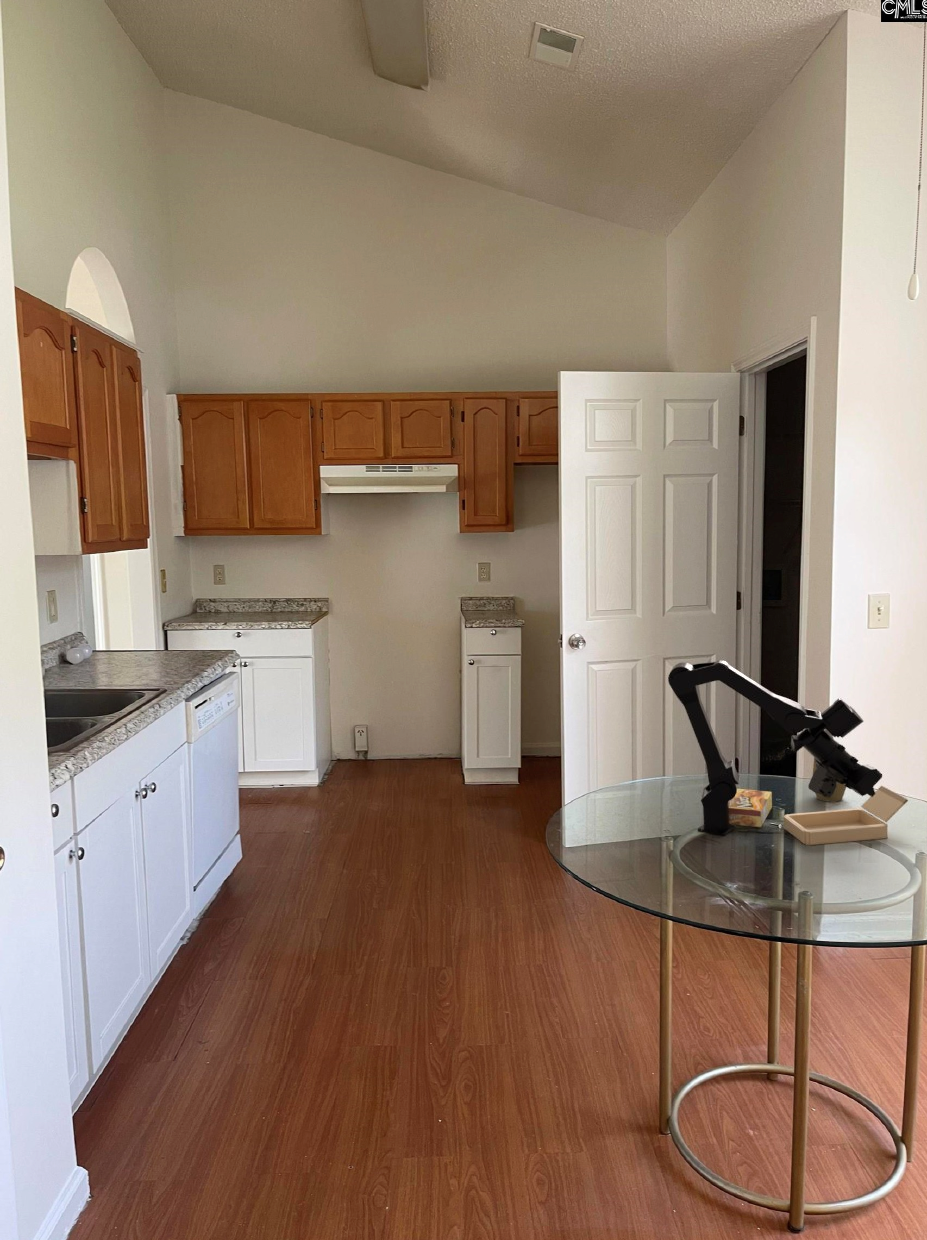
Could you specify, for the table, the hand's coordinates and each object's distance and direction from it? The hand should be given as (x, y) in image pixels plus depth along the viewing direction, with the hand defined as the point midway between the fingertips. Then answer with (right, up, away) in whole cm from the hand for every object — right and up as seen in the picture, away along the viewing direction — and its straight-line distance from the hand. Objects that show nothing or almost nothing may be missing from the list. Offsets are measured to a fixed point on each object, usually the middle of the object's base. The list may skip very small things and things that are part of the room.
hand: (873, 795), depth 193 cm
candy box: (-19, -5, +22) cm, 29 cm away
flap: (0, -5, +1) cm, 5 cm away
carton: (-8, -9, +1) cm, 12 cm away
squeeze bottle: (0, -6, +23) cm, 24 cm away
